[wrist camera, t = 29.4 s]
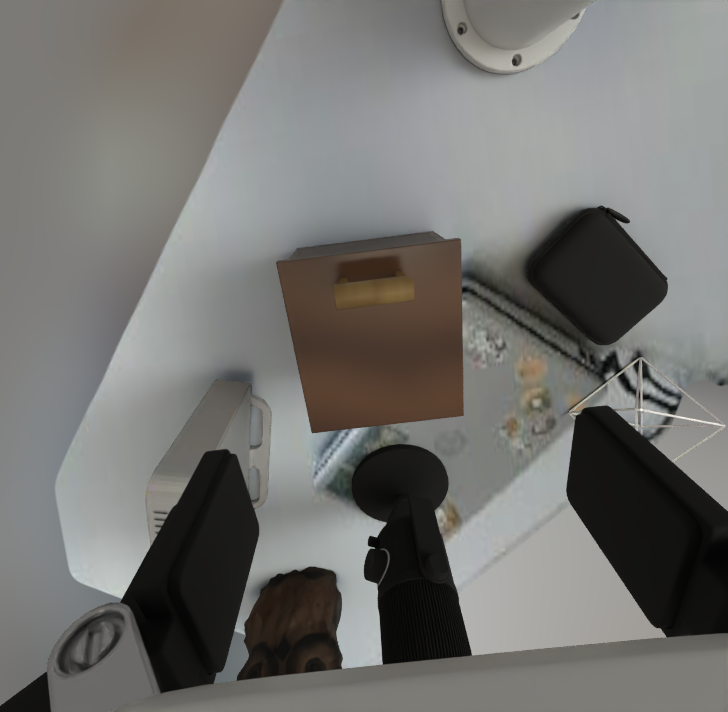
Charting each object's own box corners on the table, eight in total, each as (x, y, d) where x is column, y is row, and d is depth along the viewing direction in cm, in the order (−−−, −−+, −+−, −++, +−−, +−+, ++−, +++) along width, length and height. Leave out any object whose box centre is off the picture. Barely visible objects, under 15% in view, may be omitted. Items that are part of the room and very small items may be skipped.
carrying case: (672, 278, 44) (592, 188, 40) (693, 285, 41) (610, 189, 37) (595, 346, 47) (514, 270, 43) (610, 356, 45) (525, 276, 40)
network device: (265, 525, 58) (226, 683, 40) (205, 520, 57) (137, 679, 39) (273, 373, 48) (225, 493, 29) (200, 364, 47) (104, 483, 29)
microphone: (371, 432, 52) (387, 633, 29) (463, 459, 54) (544, 664, 31) (338, 505, 57) (330, 724, 34) (423, 527, 59) (468, 745, 36)
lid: (277, 260, 31) (261, 277, 26) (458, 237, 31) (481, 250, 26) (312, 428, 38) (306, 470, 33) (461, 411, 38) (480, 450, 32)
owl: (250, 591, 64) (209, 755, 46) (290, 546, 60) (263, 706, 42) (314, 618, 67) (301, 781, 49) (357, 577, 63) (359, 737, 45)
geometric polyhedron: (600, 347, 48) (652, 383, 39) (680, 364, 49) (746, 403, 40) (557, 430, 53) (594, 477, 44) (630, 444, 54) (679, 492, 45)
